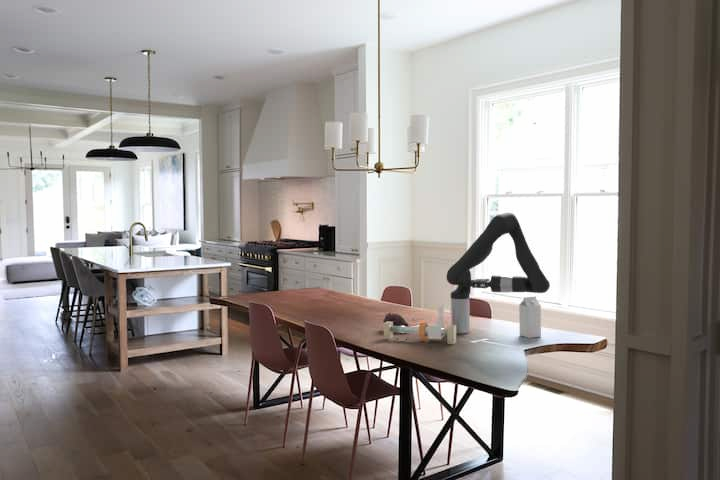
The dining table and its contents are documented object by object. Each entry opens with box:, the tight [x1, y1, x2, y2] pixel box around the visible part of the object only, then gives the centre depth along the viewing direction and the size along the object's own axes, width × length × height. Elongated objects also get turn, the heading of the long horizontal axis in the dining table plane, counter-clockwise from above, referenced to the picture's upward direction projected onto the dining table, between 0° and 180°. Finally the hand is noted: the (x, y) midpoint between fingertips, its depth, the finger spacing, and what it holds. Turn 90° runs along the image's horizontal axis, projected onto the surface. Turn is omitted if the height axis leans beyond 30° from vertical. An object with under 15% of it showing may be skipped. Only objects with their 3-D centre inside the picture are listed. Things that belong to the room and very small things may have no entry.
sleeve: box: [427, 304, 445, 340], centre depth 269 cm, size 6×6×15 cm
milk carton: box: [518, 296, 542, 339], centre depth 277 cm, size 7×7×19 cm
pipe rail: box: [383, 321, 457, 345], centre depth 272 cm, size 34×9×8 cm, turn 68°
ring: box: [418, 321, 429, 340], centre depth 272 cm, size 2×8×8 cm, turn 158°
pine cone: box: [382, 313, 410, 327], centre depth 296 cm, size 18×10×10 cm
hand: (464, 283), depth 263 cm, fingers open, 5 cm apart
